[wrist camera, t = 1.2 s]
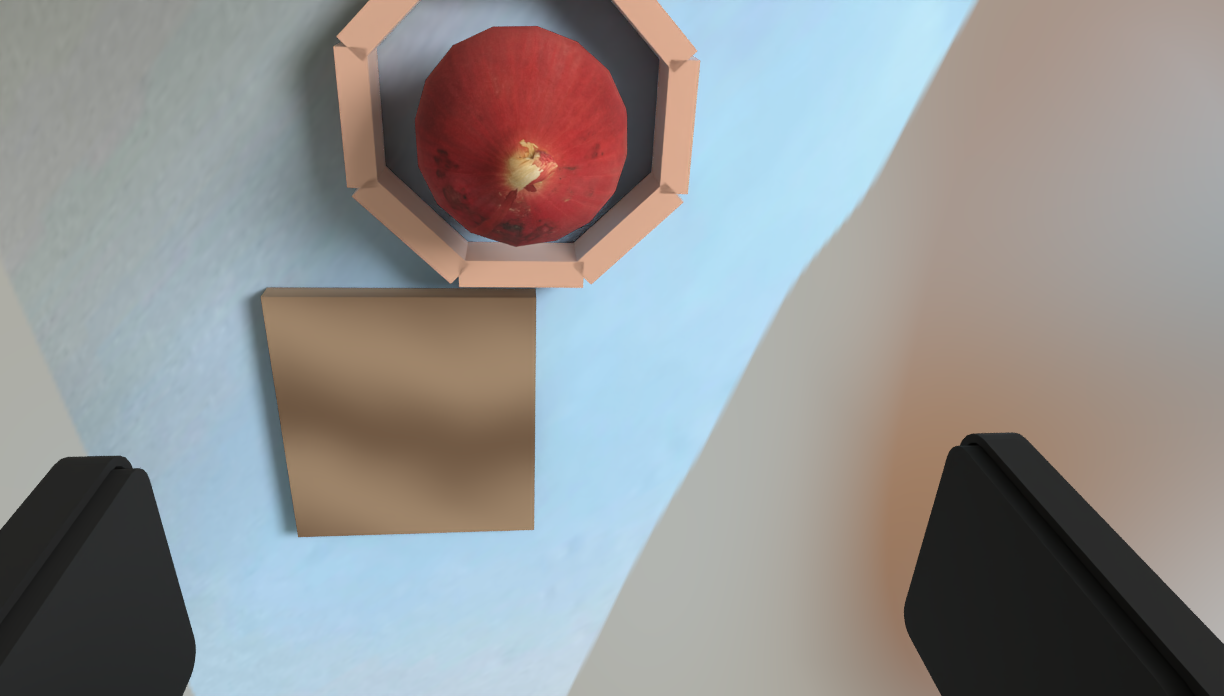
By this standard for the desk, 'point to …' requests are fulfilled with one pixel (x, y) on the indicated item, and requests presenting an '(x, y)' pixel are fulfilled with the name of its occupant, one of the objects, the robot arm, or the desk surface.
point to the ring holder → (498, 259)
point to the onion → (521, 135)
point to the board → (405, 407)
